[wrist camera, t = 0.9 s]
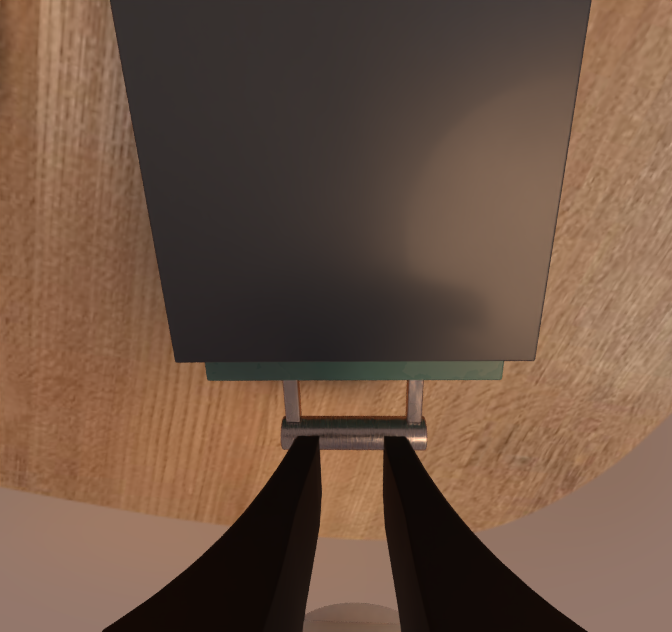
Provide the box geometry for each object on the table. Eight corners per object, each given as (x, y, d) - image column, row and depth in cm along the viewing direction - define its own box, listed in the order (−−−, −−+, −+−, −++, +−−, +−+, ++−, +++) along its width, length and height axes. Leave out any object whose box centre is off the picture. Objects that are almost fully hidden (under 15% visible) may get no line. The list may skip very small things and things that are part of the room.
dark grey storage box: (475, 292, 20) (535, 361, 13) (233, 295, 20) (174, 363, 14) (510, -71, 15) (631, -246, 8) (191, -54, 16) (71, -205, 9)
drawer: (457, 403, 21) (489, 479, 16) (252, 403, 22) (221, 477, 17) (494, -1, 15) (561, -77, 10) (207, 12, 16) (139, -54, 11)
